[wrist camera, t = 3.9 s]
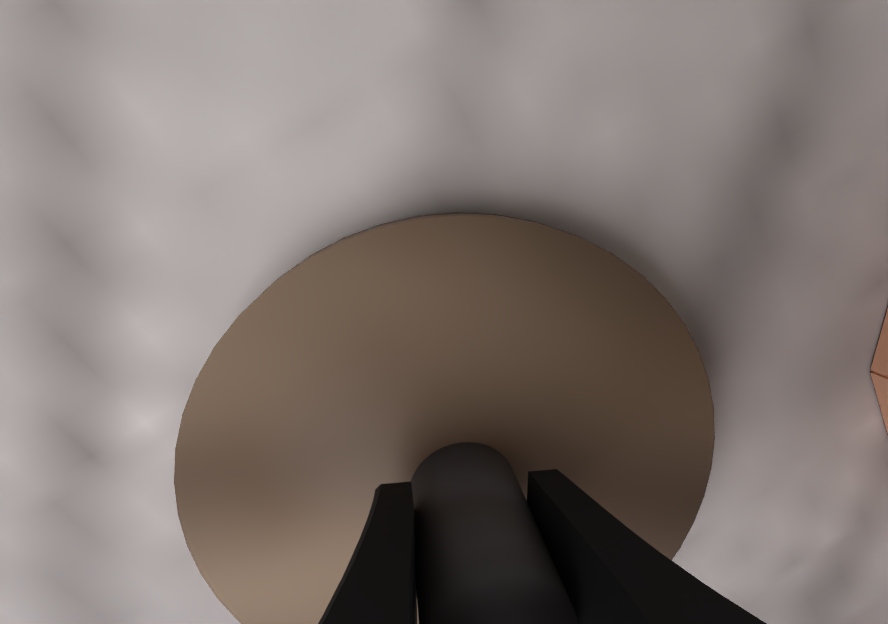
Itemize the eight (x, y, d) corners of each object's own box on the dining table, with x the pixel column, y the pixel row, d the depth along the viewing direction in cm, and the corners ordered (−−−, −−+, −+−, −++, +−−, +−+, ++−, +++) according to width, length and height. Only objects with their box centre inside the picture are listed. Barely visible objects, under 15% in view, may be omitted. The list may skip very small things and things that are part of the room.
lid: (660, 627, 13) (782, 828, 9) (230, 683, 12) (149, 949, 8) (729, 208, 10) (972, 229, 6) (140, 217, 8) (-86, 253, 4)
